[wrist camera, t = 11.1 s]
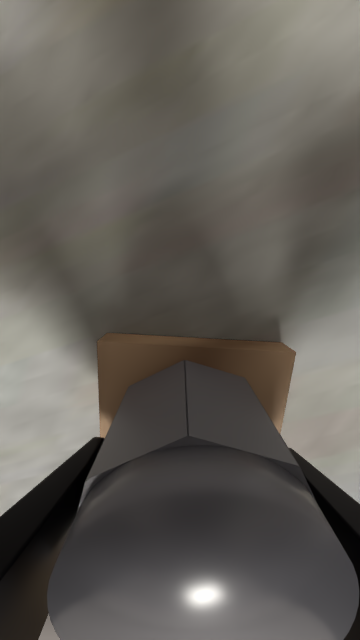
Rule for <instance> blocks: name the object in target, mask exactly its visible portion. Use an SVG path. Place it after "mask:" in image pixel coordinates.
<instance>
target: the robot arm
mask: <svg viewBox="0 0 360 640" xmlns="http://www.w3.org/2000/svg"><path fill="white" fill-rule="evenodd" d="M104 439H105V438H104V437H94V438H92V439H91V440H90V441H89V442H88V443H86V444H85V445H84V446H83V447H82V448H81V449H79V450H78V451H77V452H76V453H75V454H73V455H72V456H71V457H70V458H69V459H68V460H66V461H65V462H64V463H63V464H62V465H60V466H59V467H58V468H57V469H56V470H55V471H53V472H52V473H51V474H50V475H49V476H48V477H46V478H45V479H44V480H43V481H42V482H40V483H39V484H38V485H37V486H36V487H35V488H33V489H32V490H31V491H30V492H29V493H27V494H26V495H25V496H24V497H23V498H22V499H20V500H19V501H18V502H17V503H16V504H15V505H13V506H12V507H11V508H10V509H9V510H7V511H6V512H5V513H4V514H3V515H2V516H0V640H38V638H39V636H40V634H41V631H42V628H43V626H44V624H45V621H46V619H47V616H48V614H49V611H48V605H47V591H48V584H49V579H50V577H51V574H52V571H53V568H54V566H55V563H56V561H57V559H58V556H59V554H60V552H61V549H62V547H63V545H64V542H65V540H66V538H67V535H68V533H69V531H70V529H71V526H72V524H73V522H74V519H75V517H76V514H77V510H78V506H79V502H80V499H81V495H82V491H83V488H84V484H85V480H86V478H87V476H88V474H89V472H90V469H91V467H92V465H93V463H94V461H95V459H96V456H97V454H98V452H99V450H100V448H101V445H102V443H103V441H104ZM289 450H290V451H291V453H292V455H293V456H294V458H295V460H296V461H297V463H298V464H299V466H300V468H301V470H302V472H303V474H304V476H305V479H306V481H307V483H308V485H309V487H310V489H311V491H312V493H313V496H314V498H315V500H316V502H317V504H318V506H319V508H320V509H321V511H322V513H323V514H324V516H325V518H326V520H327V521H328V523H329V525H330V526H331V528H332V530H333V531H334V533H335V535H336V537H337V538H338V540H339V542H340V543H341V545H342V547H343V548H344V550H345V552H346V553H347V555H348V557H349V559H350V560H351V562H352V564H353V566H354V569H355V572H356V575H357V578H358V585H359V606H358V609H357V613H356V617H355V620H354V622H353V624H352V626H351V628H350V631H349V632H348V634H347V635H346V637H345V638H344V640H360V504H359V503H358V502H356V501H355V500H354V499H353V498H352V497H350V496H349V495H348V494H347V493H345V492H344V491H343V490H342V489H341V488H339V487H338V486H337V485H336V484H334V483H333V482H332V481H331V480H329V479H328V478H327V477H326V476H325V475H323V474H322V473H321V472H320V471H318V470H317V469H316V468H315V467H314V466H312V465H311V464H310V463H309V462H307V461H306V460H305V459H304V458H303V457H301V456H300V455H299V454H298V453H296V452H295V451H294V450H293V449H291V448H289Z"/></svg>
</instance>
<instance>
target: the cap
mask: <svg viewBox="0 0 360 640" xmlns="http://www.w3.org/2000/svg"><path fill="white" fill-rule="evenodd" d="M47 605H48V611H49V616H50V620H51V622H52V625H53V627H54V629H55V631H56V633H57V635H58V636H59V638H60V640H344V638H345V637H346V635H347V634H348V632H349V631H350V628H351V626H352V624H353V622H354V620H355V617H356V613H357V609H358V606H359V585H358V578H357V575H356V572H355V569H354V566H353V564H352V562H351V560H350V559H349V557H348V555H347V553H346V552H345V550H344V548H343V547H342V545H341V543H340V542H339V540H338V538H337V537H336V535H335V533H334V531H333V530H332V528H331V526H330V525H329V523H328V521H327V520H326V518H325V516H324V514H323V513H322V511H321V509H320V508H319V506H318V504H317V502H316V500H315V498H314V496H313V493H312V491H311V489H310V487H309V485H308V483H307V481H306V479H305V476H304V474H303V472H302V470H301V468H300V466H299V464H298V463H297V461H296V460H295V458H294V456H293V455H292V453H291V451H290V450H289V448H288V447H287V445H286V443H285V442H284V440H283V438H282V437H281V435H280V434H279V432H278V430H277V429H276V427H275V425H274V424H273V422H272V421H271V419H270V417H269V416H268V414H267V412H266V411H265V409H264V407H263V406H262V404H261V403H260V401H259V399H258V398H257V396H256V394H255V393H254V391H253V390H252V388H251V386H250V385H249V383H248V381H247V380H246V378H244V377H241V376H238V375H234V374H231V373H228V372H224V371H221V370H218V369H214V368H211V367H208V366H204V365H201V364H198V363H194V362H191V361H188V360H185V361H184V360H183V361H181V362H179V363H176V364H174V365H172V366H170V367H168V368H166V369H164V370H162V371H160V372H158V373H156V374H153V375H151V376H149V377H147V378H145V379H143V380H141V381H139V382H137V383H135V384H133V385H130V386H129V387H128V389H127V391H126V393H125V395H124V397H123V400H122V402H121V404H120V406H119V408H118V410H117V413H116V415H115V417H114V419H113V421H112V424H111V426H110V428H109V430H108V432H107V435H106V437H105V439H104V441H103V443H102V445H101V448H100V450H99V452H98V454H97V456H96V459H95V461H94V463H93V465H92V467H91V469H90V472H89V474H88V476H87V478H86V480H85V484H84V488H83V491H82V495H81V499H80V502H79V506H78V510H77V514H76V517H75V519H74V522H73V524H72V526H71V529H70V531H69V533H68V535H67V538H66V540H65V542H64V545H63V547H62V549H61V552H60V554H59V556H58V559H57V561H56V563H55V566H54V568H53V571H52V574H51V577H50V579H49V584H48V591H47Z"/></svg>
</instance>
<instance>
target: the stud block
mask: <svg viewBox="0 0 360 640" xmlns="http://www.w3.org/2000/svg"><path fill="white" fill-rule="evenodd" d="M295 355H296V352H295V351H293V350H292V349H291V348H289V347H288V346H286V345H285V344H283V343H282V342H264V341H246V340H228V339H210V338H191V337H173V336H155V335H137V334H119V333H107V334H105V335H104V336H103V337H102V338H101V339H99V340H98V341H97V358H98V386H99V414H100V437H104V438H105V437H106V435H107V432H108V430H109V428H110V426H111V424H112V421H113V419H114V417H115V415H116V413H117V410H118V408H119V406H120V404H121V402H122V400H123V397H124V395H125V393H126V391H127V389H128V387H129V386H130V385H133V384H135V383H137V382H139V381H141V380H143V379H145V378H147V377H149V376H151V375H153V374H156V373H158V372H160V371H162V370H164V369H166V368H168V367H170V366H172V365H174V364H176V363H179V362H181V361H183V360H184V361H185V360H188V361H191V362H194V363H198V364H201V365H204V366H208V367H211V368H214V369H218V370H221V371H224V372H228V373H231V374H234V375H238V376H241V377H244V378H246V380H247V381H248V383H249V385H250V386H251V388H252V390H253V391H254V393H255V394H256V396H257V398H258V399H259V401H260V403H261V404H262V406H263V407H264V409H265V411H266V412H267V414H268V416H269V417H270V419H271V421H272V422H273V424H274V425H275V427H276V429H277V430H278V432H279V434H280V432H281V427H282V422H283V417H284V412H285V407H286V402H287V396H288V391H289V386H290V381H291V376H292V371H293V366H294V361H295Z"/></svg>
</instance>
